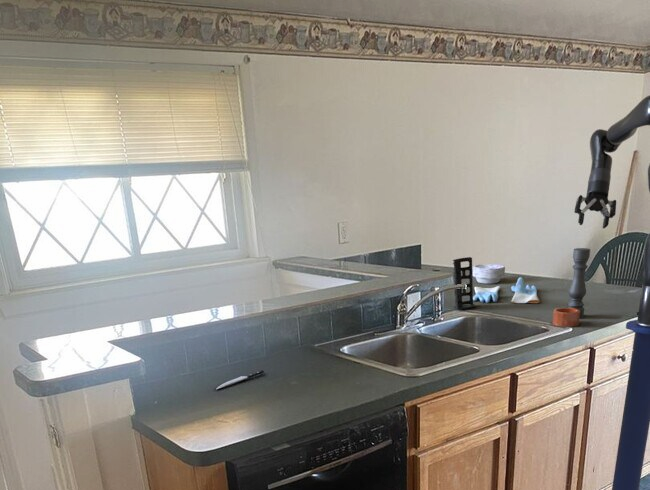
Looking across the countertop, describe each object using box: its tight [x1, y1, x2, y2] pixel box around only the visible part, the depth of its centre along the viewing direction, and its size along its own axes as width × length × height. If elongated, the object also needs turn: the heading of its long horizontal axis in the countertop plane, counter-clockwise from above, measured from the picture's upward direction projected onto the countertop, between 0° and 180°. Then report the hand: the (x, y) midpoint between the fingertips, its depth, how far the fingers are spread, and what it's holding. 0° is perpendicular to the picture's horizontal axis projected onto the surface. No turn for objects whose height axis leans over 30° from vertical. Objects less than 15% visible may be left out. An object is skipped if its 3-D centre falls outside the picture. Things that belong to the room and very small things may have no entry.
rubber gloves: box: [473, 277, 540, 304], centre depth 287 cm, size 27×33×6 cm
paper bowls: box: [472, 263, 506, 285], centre depth 317 cm, size 15×15×8 cm
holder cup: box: [552, 307, 581, 328], centre depth 238 cm, size 9×9×5 cm
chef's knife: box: [215, 369, 265, 390], centre depth 194 cm, size 19×1×3 cm
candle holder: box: [566, 247, 591, 320], centre depth 243 cm, size 6×6×25 cm
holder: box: [452, 256, 475, 311], centre depth 267 cm, size 11×8×20 cm
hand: (592, 226), depth 242 cm, fingers open, 8 cm apart
